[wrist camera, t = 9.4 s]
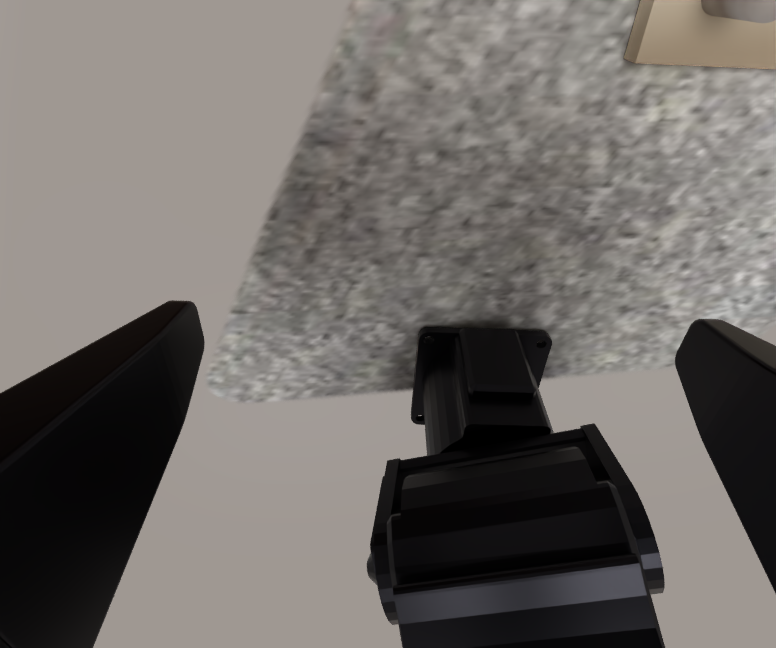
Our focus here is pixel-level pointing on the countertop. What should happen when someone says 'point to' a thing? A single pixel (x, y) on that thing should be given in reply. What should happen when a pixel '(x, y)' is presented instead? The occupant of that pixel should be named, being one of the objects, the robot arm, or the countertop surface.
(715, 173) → the countertop surface
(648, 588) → the robot arm
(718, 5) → the pin board
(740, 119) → the countertop surface
